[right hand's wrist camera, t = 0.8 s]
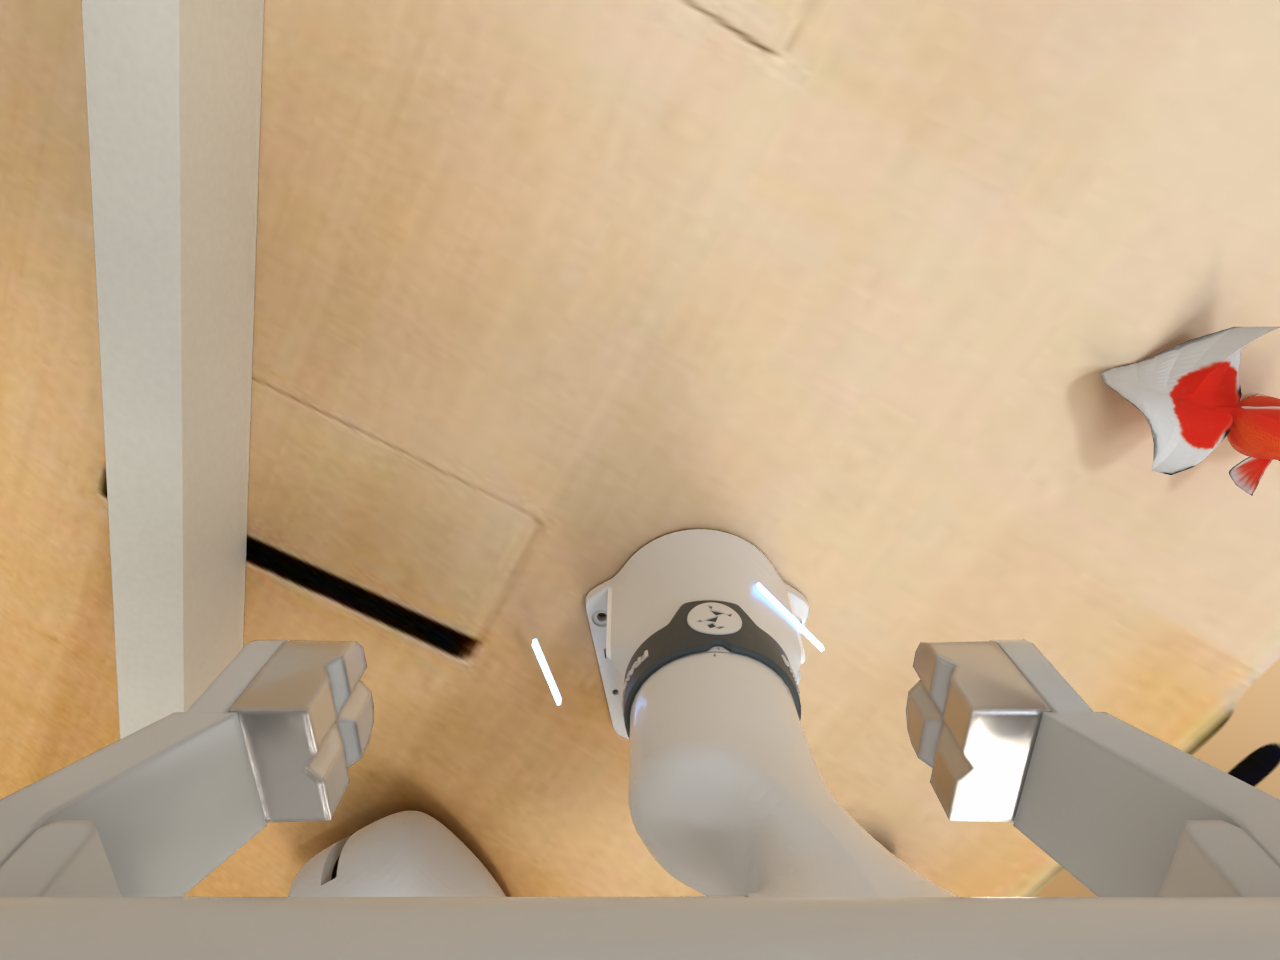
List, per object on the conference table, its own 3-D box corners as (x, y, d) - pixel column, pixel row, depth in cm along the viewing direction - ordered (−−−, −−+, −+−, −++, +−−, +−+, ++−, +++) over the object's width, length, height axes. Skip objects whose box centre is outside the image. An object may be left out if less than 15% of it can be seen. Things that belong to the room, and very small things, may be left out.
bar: (242, 679, 63) (184, 752, 55) (186, 669, 63) (119, 741, 55) (268, -120, 41) (177, -193, 33) (182, -145, 41) (69, -226, 32)
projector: (316, 935, 76) (246, 1097, 63) (307, 776, 67) (224, 925, 54) (520, 954, 78) (495, 1117, 64) (538, 801, 69) (513, 952, 55)
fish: (1230, 550, 53) (1337, 544, 43) (1041, 429, 56) (1101, 398, 46) (1316, 435, 53) (1442, 403, 43) (1122, 322, 56) (1199, 268, 46)
